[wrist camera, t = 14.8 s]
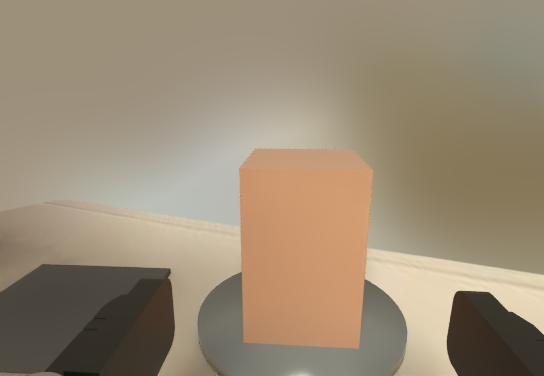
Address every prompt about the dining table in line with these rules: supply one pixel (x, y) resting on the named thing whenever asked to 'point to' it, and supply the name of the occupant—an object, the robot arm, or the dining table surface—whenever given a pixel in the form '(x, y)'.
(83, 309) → the mat
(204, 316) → the plate
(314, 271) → the orange brown block
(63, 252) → the dining table surface
